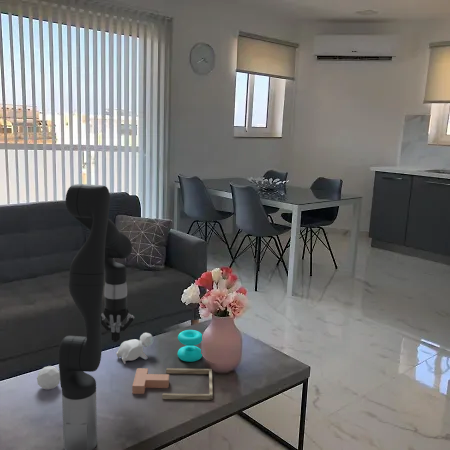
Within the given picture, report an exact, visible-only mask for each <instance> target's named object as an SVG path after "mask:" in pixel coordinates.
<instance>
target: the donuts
mask: <svg viewBox="0 0 450 450" xmlns="http://www.w3.org/2000/svg"><path fill="white" fill-rule="evenodd" d="M202 335H203V334H202V332H201V331H198V330H195V329H185V330H183V331H181V332H180V333H179V334H178V335H177V339H178V342H179V343H180V344H182V345H184V346H181V347H180V348H179V349H178V350H177V357H178V358H179V360H181V361H183V362H186V363H191V362H192V363H194V362H198V361H199V360H200V359H202V357H203V355H202V354H201V350H202V349H201V348H200V347H198V346H197V345H199V344H201V343H202V342H203V340H202ZM201 341H202V342H201Z"/></svg>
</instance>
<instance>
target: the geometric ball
mask: <svg viewBox="0 0 450 450" xmlns="http://www.w3.org/2000/svg"><path fill="white" fill-rule="evenodd" d="M37 374H38V375H37V377H36V379H37V385H38V386H39V387H40V388H41V389H44V390H48V391H49V390H53V389H55V388H56V387H57V386H58V385H59V384H60V372H59V368H57V367H55V366H52V365H48V366H44V367H42V368H41V369H40V370H39V371H38V373H37Z"/></svg>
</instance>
